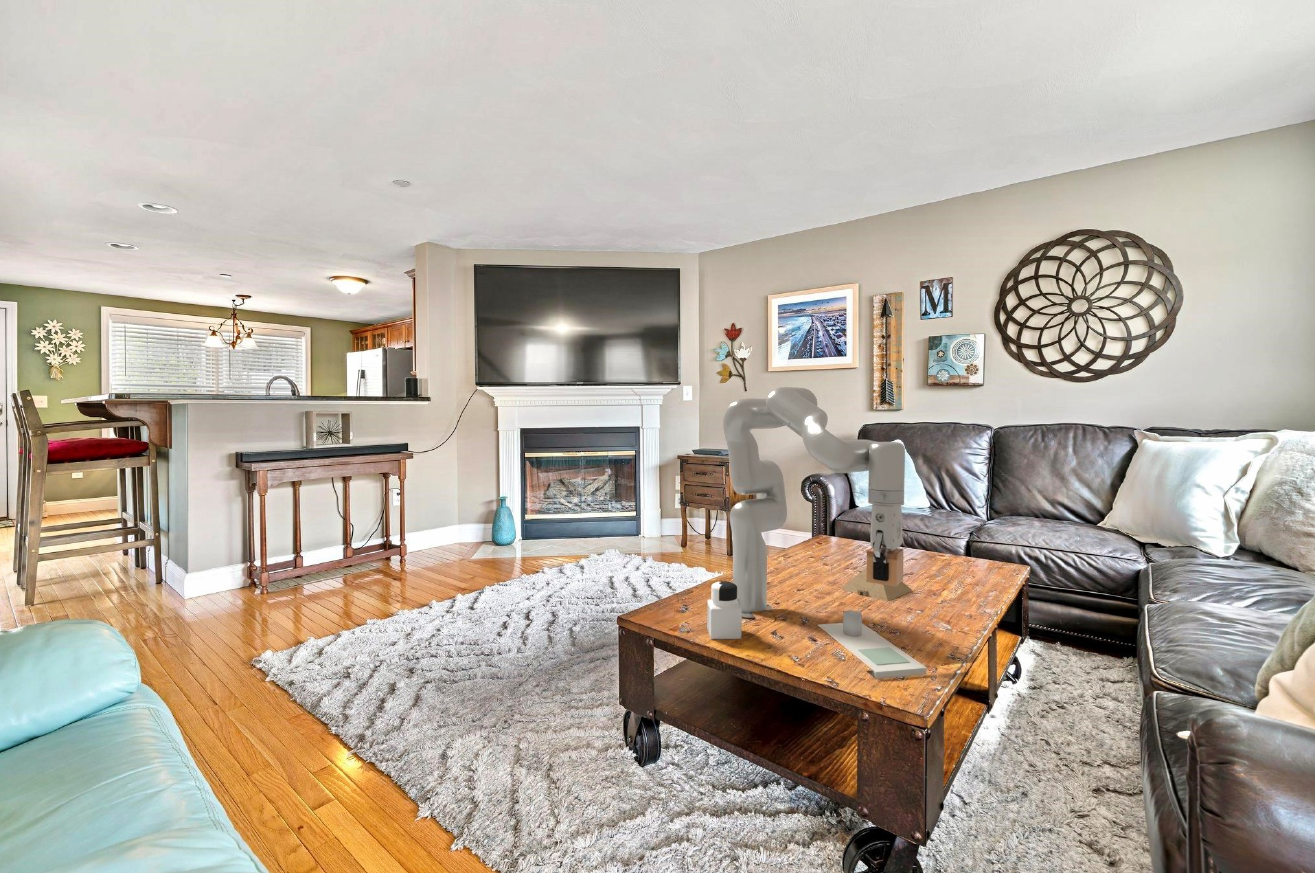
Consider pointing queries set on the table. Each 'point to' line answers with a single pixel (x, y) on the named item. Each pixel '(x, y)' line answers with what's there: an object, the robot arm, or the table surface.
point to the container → (724, 612)
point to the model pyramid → (875, 588)
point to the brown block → (894, 567)
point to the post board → (872, 648)
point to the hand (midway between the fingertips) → (884, 575)
